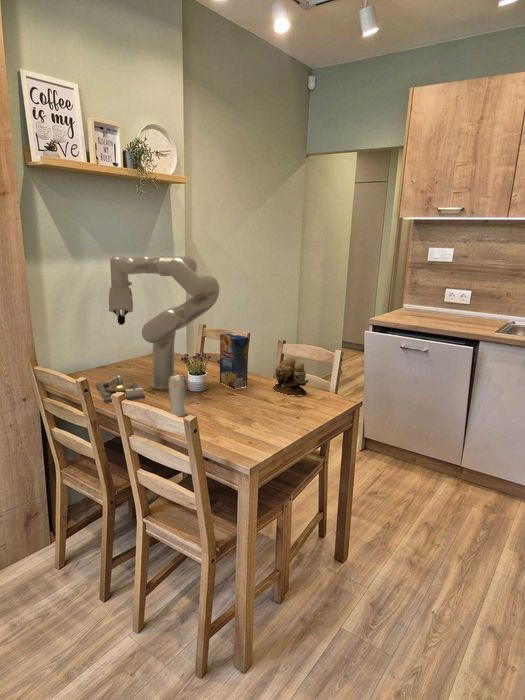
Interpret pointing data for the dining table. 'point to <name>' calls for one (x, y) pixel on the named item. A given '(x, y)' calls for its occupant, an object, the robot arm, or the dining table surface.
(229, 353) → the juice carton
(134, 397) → the level stand
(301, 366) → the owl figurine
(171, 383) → the beer glass
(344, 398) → the dining table surface
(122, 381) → the cam foot
